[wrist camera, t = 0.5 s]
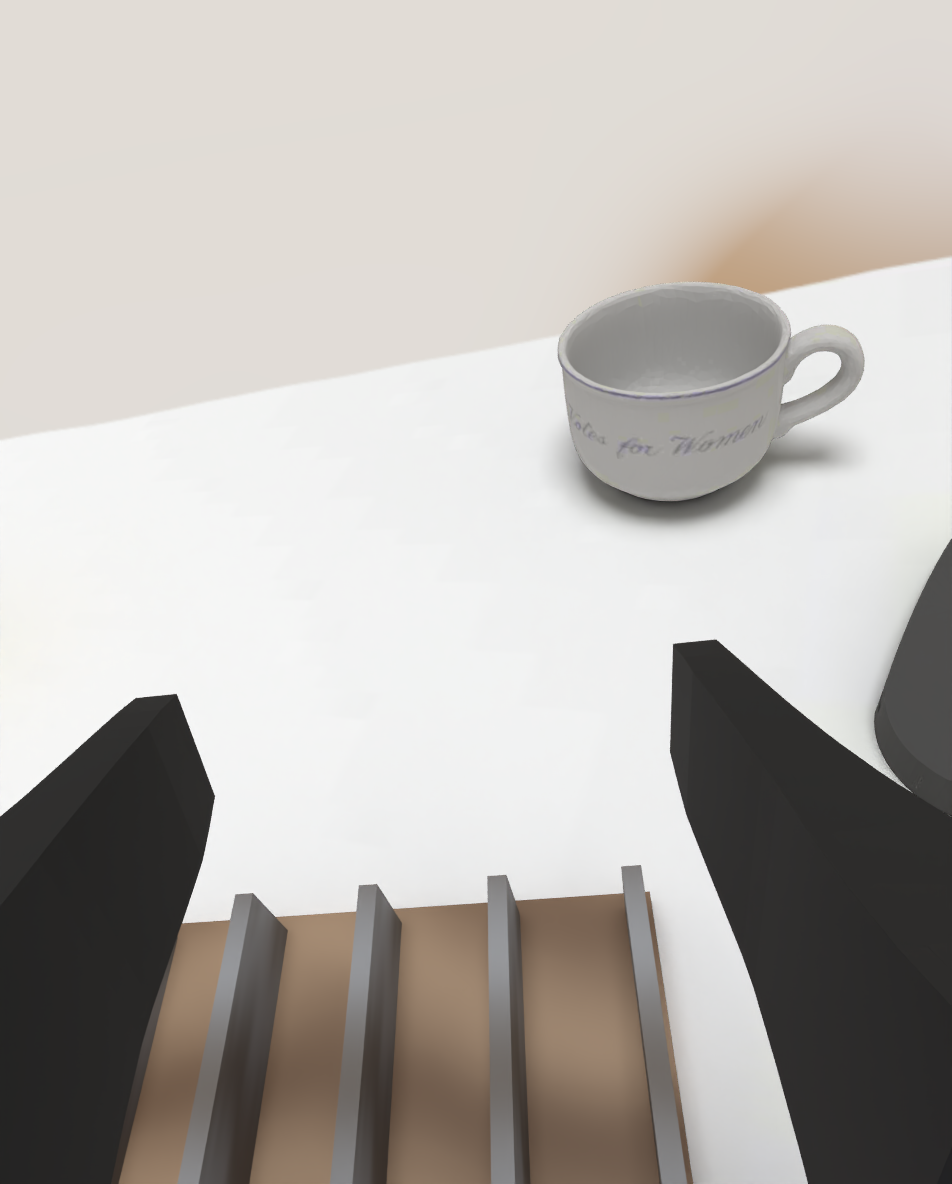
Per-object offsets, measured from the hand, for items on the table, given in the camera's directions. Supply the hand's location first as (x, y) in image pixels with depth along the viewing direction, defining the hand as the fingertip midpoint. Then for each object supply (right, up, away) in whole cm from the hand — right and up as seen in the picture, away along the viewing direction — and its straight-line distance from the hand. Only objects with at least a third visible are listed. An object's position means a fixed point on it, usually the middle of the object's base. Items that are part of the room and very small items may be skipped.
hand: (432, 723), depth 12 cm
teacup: (+13, +9, +31) cm, 35 cm away
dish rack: (-2, -14, +13) cm, 20 cm away
